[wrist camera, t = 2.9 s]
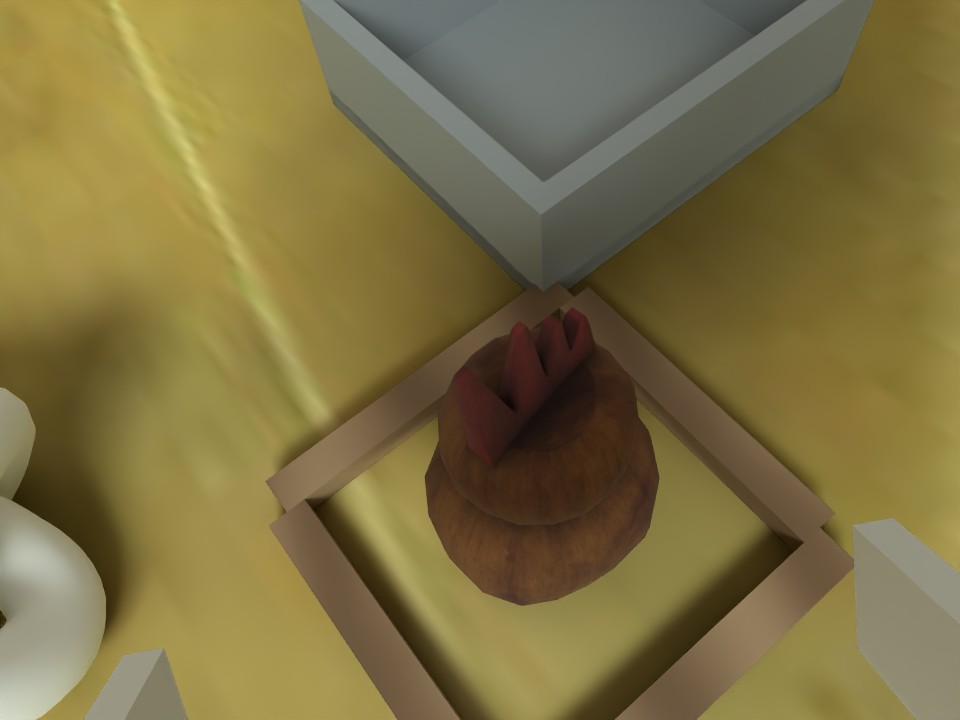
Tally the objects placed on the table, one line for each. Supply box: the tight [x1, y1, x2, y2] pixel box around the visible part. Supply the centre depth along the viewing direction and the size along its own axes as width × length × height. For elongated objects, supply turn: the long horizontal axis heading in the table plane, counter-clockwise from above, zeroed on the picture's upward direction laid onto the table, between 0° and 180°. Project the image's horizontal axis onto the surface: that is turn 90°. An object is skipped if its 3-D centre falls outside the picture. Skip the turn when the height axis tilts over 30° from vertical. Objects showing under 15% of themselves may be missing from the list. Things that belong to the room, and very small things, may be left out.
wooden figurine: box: [425, 307, 659, 606], centre depth 20 cm, size 7×6×15 cm
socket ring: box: [265, 281, 854, 720], centre depth 26 cm, size 15×15×1 cm
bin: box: [299, 0, 874, 292], centre depth 34 cm, size 18×16×6 cm
